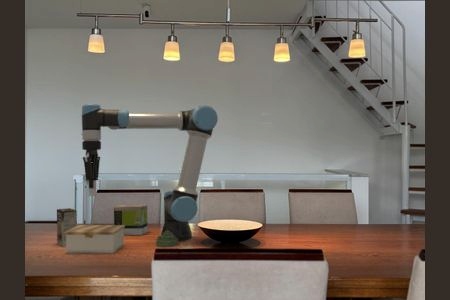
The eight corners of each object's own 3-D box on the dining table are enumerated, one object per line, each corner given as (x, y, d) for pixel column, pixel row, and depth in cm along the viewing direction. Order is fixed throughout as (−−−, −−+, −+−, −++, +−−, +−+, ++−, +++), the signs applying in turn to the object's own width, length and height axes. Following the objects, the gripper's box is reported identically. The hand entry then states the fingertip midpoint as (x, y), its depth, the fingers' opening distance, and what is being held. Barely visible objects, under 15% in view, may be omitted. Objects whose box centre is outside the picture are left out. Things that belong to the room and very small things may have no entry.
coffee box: (56, 243, 179) (56, 209, 179) (70, 241, 183) (70, 207, 183) (62, 247, 172) (62, 211, 172) (77, 244, 176) (76, 209, 176)
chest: (123, 245, 173) (123, 227, 173) (113, 253, 159) (112, 234, 159) (80, 245, 174) (80, 228, 174) (66, 253, 160) (66, 234, 160)
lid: (125, 229, 174) (125, 224, 174) (113, 237, 158) (113, 232, 158) (80, 229, 175) (80, 225, 175) (63, 237, 159) (63, 232, 159)
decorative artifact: (155, 243, 178) (157, 248, 168) (154, 228, 178) (157, 232, 168) (176, 241, 180) (179, 246, 171) (176, 226, 180) (179, 230, 171)
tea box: (148, 231, 204) (147, 204, 205) (142, 235, 194) (141, 206, 195) (120, 231, 206) (120, 204, 206) (113, 235, 196) (113, 206, 196)
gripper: (89, 141, 170) (90, 194, 170) (76, 140, 157) (77, 197, 157) (105, 140, 170) (106, 194, 169) (94, 139, 157) (95, 197, 156)
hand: (92, 195), depth 163 cm, fingers closed
